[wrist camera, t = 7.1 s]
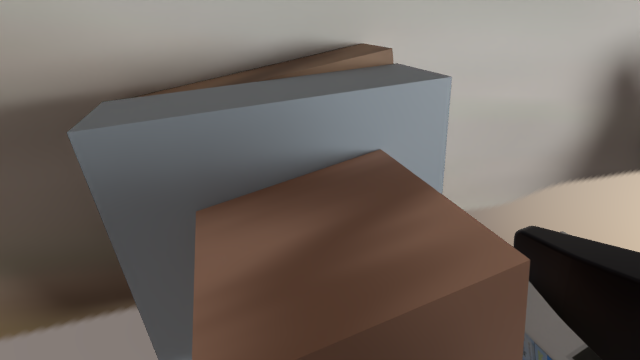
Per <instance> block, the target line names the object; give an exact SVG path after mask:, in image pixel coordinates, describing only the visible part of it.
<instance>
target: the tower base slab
mask: <svg viewBox="0 0 640 360" xmlns="http://www.w3.org/2000/svg"><path fill="white" fill-rule="evenodd" d="M389 64H393V52H392V48H386V47H380V46H375V45H369V44H358V45H354V46H350V47H346V48H341V49H337V50H333V51H328V52H324V53H320V54H316V55H311V56H307V57H303V58H299V59H294V60H290V61H286V62H282V63H277V64H273V65H269V66H265V67H260V68H256V69H252V70H248V71H243V72H239V73H235V74H231V75H226V76H222V77H218V78H214V79H209V80H205V81H201V82H197V83H192V84H188V85H184V86H180V87H175V88H171V89H167V90H163V91H158V92H154V93H150V94H146V95H141V96H137V97H144V96H151V95H159V94H167V93H174V92H182V91H190V90H197V89H205V88H213V87H220V86H228V85H236V84H243V83H251V82H259V81H266V80H274V79H282V78H289V77H297V76H305V75H312V74H320V73H328V72H335V71H343V70H351V69H358V68H366V67H374V66H382V65H389ZM133 98H136V97H133Z"/></svg>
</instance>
